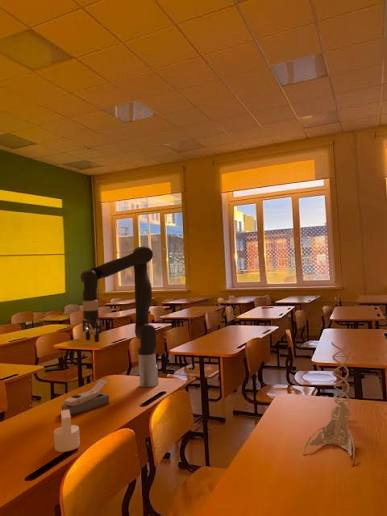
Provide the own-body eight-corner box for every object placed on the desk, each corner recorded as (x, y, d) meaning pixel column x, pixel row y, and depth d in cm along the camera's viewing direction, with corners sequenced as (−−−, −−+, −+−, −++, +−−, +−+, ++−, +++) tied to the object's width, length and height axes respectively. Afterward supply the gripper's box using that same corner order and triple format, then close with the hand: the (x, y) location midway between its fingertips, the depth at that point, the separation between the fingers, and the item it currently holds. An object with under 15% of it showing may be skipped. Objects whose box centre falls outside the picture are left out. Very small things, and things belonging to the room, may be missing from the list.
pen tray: (102, 400, 201) (101, 392, 201) (109, 403, 197) (108, 395, 197) (61, 413, 187) (61, 404, 187) (68, 416, 182) (68, 407, 182)
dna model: (349, 411, 171) (345, 339, 171) (353, 417, 164) (349, 343, 164) (332, 412, 171) (328, 340, 171) (336, 418, 165) (332, 343, 165)
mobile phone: (109, 380, 201) (68, 395, 180) (109, 392, 201) (69, 409, 180) (100, 379, 204) (59, 394, 183) (101, 391, 204) (60, 407, 183)
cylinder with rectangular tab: (54, 443, 155) (52, 412, 155) (78, 438, 158) (77, 407, 159) (55, 453, 147) (53, 420, 147) (80, 448, 150) (79, 415, 150)
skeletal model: (301, 456, 136) (314, 388, 152) (309, 468, 141) (320, 401, 157) (352, 466, 127) (360, 393, 143) (358, 478, 132) (364, 406, 148)
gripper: (104, 309, 206) (106, 341, 206) (90, 307, 216) (91, 338, 216) (91, 311, 201) (93, 344, 201) (77, 309, 211) (78, 341, 211)
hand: (92, 341), depth 209 cm, fingers open, 8 cm apart
